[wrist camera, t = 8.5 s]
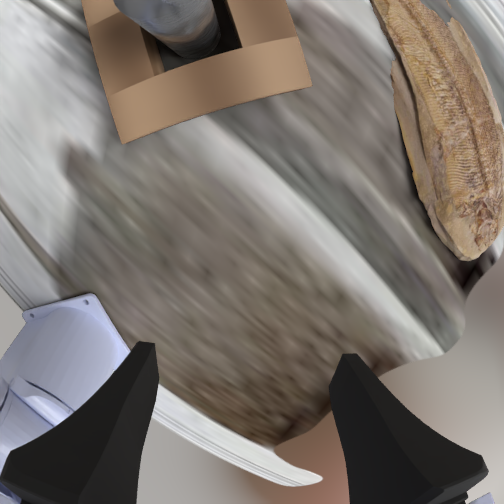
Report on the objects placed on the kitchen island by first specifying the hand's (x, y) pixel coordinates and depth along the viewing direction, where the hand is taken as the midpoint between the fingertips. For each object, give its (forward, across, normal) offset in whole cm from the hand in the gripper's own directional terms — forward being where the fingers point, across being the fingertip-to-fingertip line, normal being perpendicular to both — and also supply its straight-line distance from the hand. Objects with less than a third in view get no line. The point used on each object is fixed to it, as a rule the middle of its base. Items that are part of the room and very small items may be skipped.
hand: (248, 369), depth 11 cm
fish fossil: (+11, -13, -13) cm, 21 cm away
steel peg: (+10, +4, -13) cm, 17 cm away
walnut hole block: (+10, +4, -13) cm, 17 cm away
